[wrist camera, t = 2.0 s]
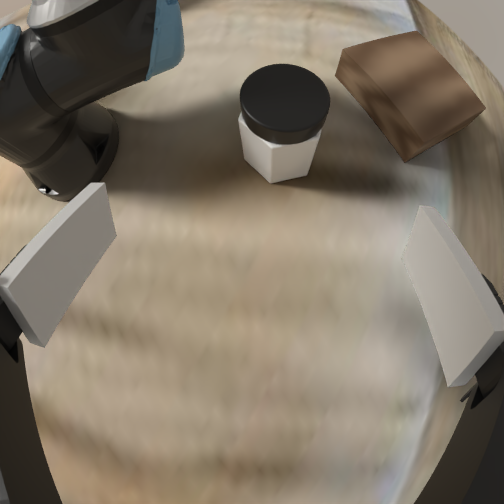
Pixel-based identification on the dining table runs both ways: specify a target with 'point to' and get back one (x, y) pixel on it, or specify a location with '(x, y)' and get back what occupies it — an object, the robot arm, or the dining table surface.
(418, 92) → the walnut block
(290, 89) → the jar
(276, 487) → the dining table surface
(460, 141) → the dining table surface
